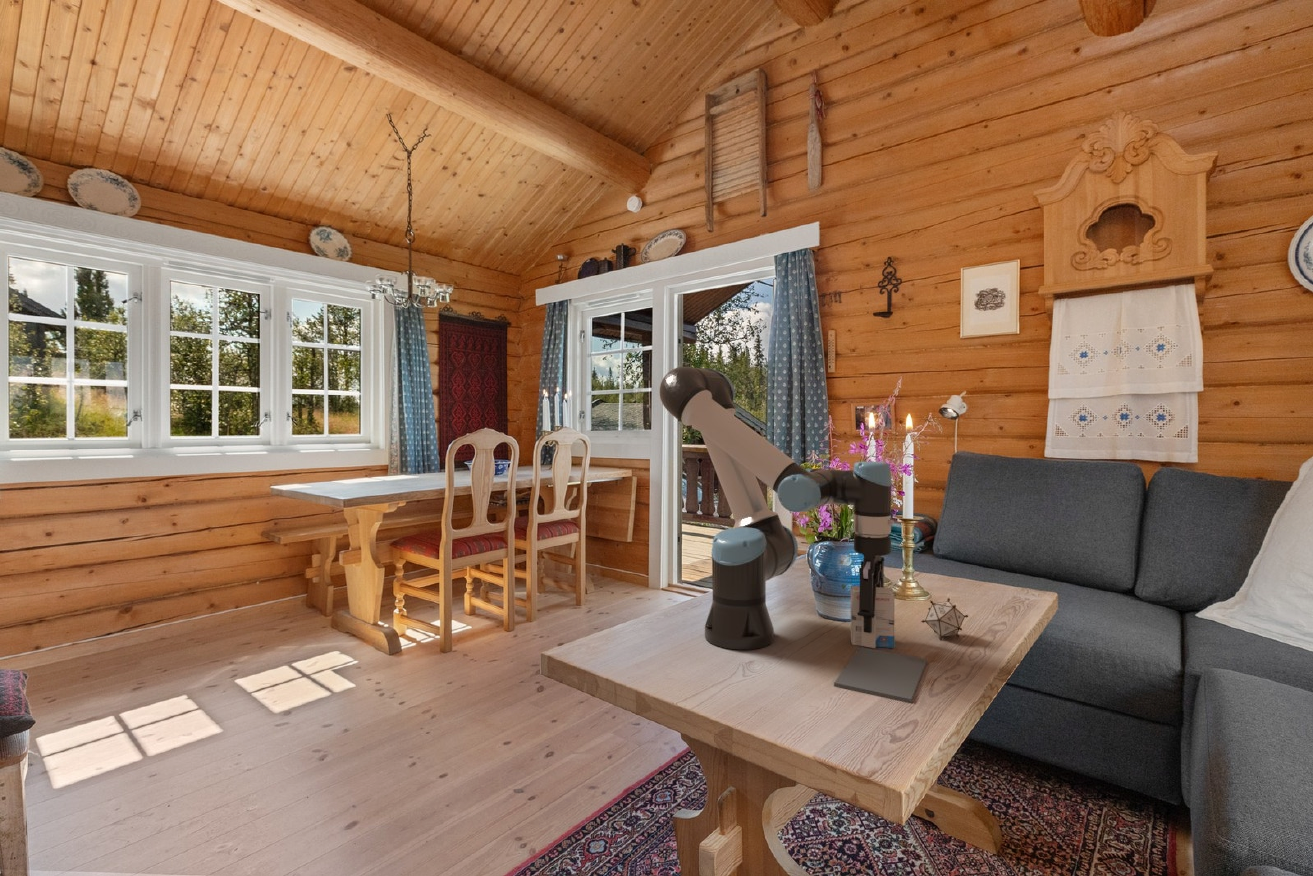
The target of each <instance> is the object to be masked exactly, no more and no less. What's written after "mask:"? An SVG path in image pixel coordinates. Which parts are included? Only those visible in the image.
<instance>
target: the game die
mask: <svg viewBox="0 0 1313 876" xmlns="http://www.w3.org/2000/svg"><path fill="white" fill-rule="evenodd" d="M950 600H951V599H950V597H948V598H947V600H946V601H941V602H934V601H933V600H929V601H930V602H929V603H930V604H931V606H930V607H928V608H927V609H928V612H927V615H926V617H925V620H924V619H923V620H921V621H920V622H921V623H923V624H925V623H926V624H927V625H928V626H929V628H931V629H932V630H933V631H934V633H936V634H937V635H938V636H939V640H940V641H942V640H943V637H950V636H956V637H957V638H960V634H959V632H960V631H963V629H962V625H963V622H964V620H965V618H969V615H968V614H965V615H964V613H962V612H961V611H960V610H959V609H958V608H956V607H957V606H956V604H952V603H951V602H950Z"/></svg>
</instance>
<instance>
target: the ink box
mask: <svg viewBox="0 0 1313 876" xmlns="http://www.w3.org/2000/svg"><path fill="white" fill-rule="evenodd" d="M859 601H860V585H859V586H858V585H856V586H855V585H851V586H850V642H851V645H852V646H857V647H863V646H862V616H859V615H858V614H857V612H859ZM874 614H875V616H876V647H875V648H886V649H895V592H894V591H893V589H892V588H891V587H885V586H884V587H876V597H875V612H874Z"/></svg>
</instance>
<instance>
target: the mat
mask: <svg viewBox="0 0 1313 876" xmlns="http://www.w3.org/2000/svg"><path fill="white" fill-rule="evenodd" d="M927 663H928V659H927V658H925V657H918V656H913V655H908V654H902V653H897V652H891V651H886V650H885V651H884V650H881V649H876V648H870V647H865V646H858V648H857V649H856V651H855V652H854V654H853V655H852V656H851V658H850V659H849V661H848V662H847V664H846V665H845V667H844V668H843V669H842V670H841V672H840V673H839V675H838V676H837V678H836V679H835V680H834V682H833V687H838V688H842V689H845V690H846V689H847V690H851V691H856V692H860V693H866V694H869V695H875V696H877V697H878V696H879V697H882V698H888V699H890V700H891V699H892V700H897V701H901V702H906V703H911V704H912V702H913V700H914V697H915V694H916V691H917V689H918V686H919V684H920V681H921V678H922V675H923V673H924V671H925V668H926V665H927Z"/></svg>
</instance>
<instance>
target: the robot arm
mask: <svg viewBox="0 0 1313 876" xmlns="http://www.w3.org/2000/svg"><path fill="white" fill-rule="evenodd" d="M735 398H736V391H735V386H734V384H733V382H732V380H731V379H730V378H729V377H728V376H727V375H726V374H725V373H723V372H722V371H719V370H716V369H713V368H699V367H691V366H679V367H676V368H673V369H672V370H670V371H668V372H667V373H666V375H665V376H664V377H663V379H662V380H661V382H660V386H659V399H660V401H661V403H662V406H663V407H664V408H665V410H666V411H667V412H668V413H669V414H671V415H672V416H673V417H674V418H675V419H676V420H677V421H679V422H680V423H682V424H683V425H684V426H685V427H689V426H691V427H692V429H694V430H696V431H697V432H699V433H701V436H702V439H703V442H704V444H705V447H706V449H707V452H708V454H709V457H710V459H711V460H710V461H711V462H712V464H713V467H714V471H715V473H716V475H717V479H718V481H719V483H720V485H721V489H722V491H723V493H724V496H725V498H726V501H727V503H728V506H729V509H730V511H731V514H732V516H733V519H734V525H733V527H732V528H727V529H726V528H725V529H724V530H721V531H719V532H718V533H716V534H715V535H714V536H713V539H712V548H711V565H712V567H711V568H712V569H711V571H712V574H711V577H712V579H711V581H712V585H711V586H712V600H711V601H712V602H711V606H710V608H709V612H708V615H707V618H706V620H705V621H706V622H705V625H704V638H705V640H706V641H707V642H708V643H710V644H712V645H714V646H716V647H720V648H724V649H729V650H730V649H731V650H741V651H742V650H743V651H744V650H755V649H757V650H758V649H761V648H765V647H767V646H769V645H771V644H772V643H773V642H774V639H775V637H774V636H775V634H774V633H775V628H774V625H773V623H772V619H771V615H770V613H769V609H768V607H767V601H766V599H767V598H766V596H767V595H766V590H767V589H766V588H767V587H766V582H767V581H769V580H771V579H772V578H773V579H774V577H778V576H781V575H784V573H785V572H787V571H788V570H789V569H790V568H792V566H793V565H794V564H795V562H796V561H797V557H798V554H799V547H798V546H799V545H798V541H797V539H796V536H795V534H794V533H793V532H792V530H791V529H790V528H788V527H786V526H785V525H784V524H782V522H781V518H780V517H779V515H778V513H777V512H776V511H775V512H774V511H773V510H771V509H770V508H769V507H768V504H767V500H766V499H765V497H764V493H763V491H762V489H761V487H760V484H759V481H758V479H759V480H760V482H762V483H763V484H765V485H766V486H767V487H769V488H770V489H771V490H773V492H775V493H776V494H777V499H778V502H779V504H781V506H782V507H783V508H784V509H785V510H788V511H789V512H792V513H804V512H810V511H812V510H814V509H815V508H819V507H823V506H826V505H829V504H834V505H847V506H853V532H854V533H855V534H854V535H853V550H854V552H855V553H856V554H860V555H863V561H861V562H860V567H859V569H858V573H859V586H860V601H859V612H857V614H858V615H859V616H862V646H861V647H864V648H870V649H876V648H877V647H876V616H875V614H874V612H875V597H876V587H884V588H885V578H884V577H885V574H884V571H885V570H884V569H885V566H884V565H885V557H884V556H887V555H890V554H891V552H892V537H891V536H890V534H891V533H892V525H894V524H895V521H894V519H892V488H893V482H892V471H891V470H892V469H891V465H890V464H889V463H887V462H885V461H857V462H855V463H854V466H853V469H849V470H845V469H844V470H843V469H827V468H819V467H818V468H806V469H805V468H804V467H802V466H801V465H800V464H798V463H797V462H796V461H795V460H793V459H792V458H791V457H789V456H788V455H787V454H785V453H784V452H783V451H781V449H779V448H777V447H776V446H775V445H774V444H772V443H771V442H769V441H768V440H767V439H766V438H764V436H762V435H761V434H759V433H758V432H756V431H755V430H754V429H752V428H751V427H750V426H748V425H747V424H746V423H744V422H743V421H742V420H740V419H739V418H738V417H736V416H735V414H736V412H737V410H736V409H735V406H734V399H735Z"/></svg>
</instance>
